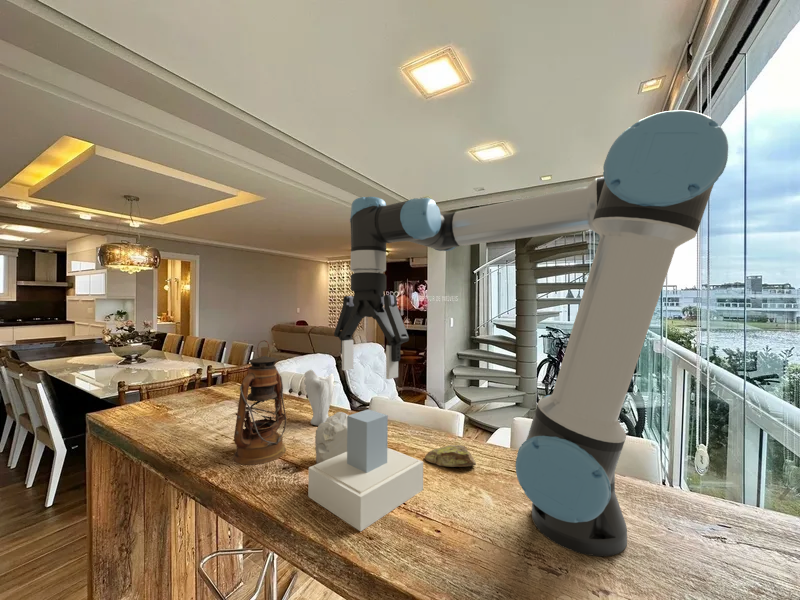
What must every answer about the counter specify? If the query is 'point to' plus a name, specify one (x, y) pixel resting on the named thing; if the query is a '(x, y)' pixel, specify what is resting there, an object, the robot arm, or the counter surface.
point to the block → (367, 440)
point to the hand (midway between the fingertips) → (368, 373)
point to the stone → (331, 437)
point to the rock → (451, 456)
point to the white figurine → (319, 395)
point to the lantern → (261, 435)
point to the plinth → (364, 487)
